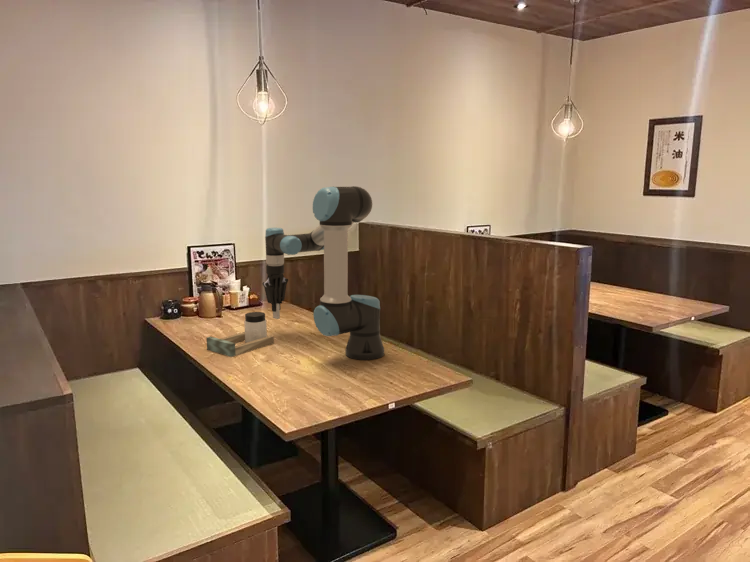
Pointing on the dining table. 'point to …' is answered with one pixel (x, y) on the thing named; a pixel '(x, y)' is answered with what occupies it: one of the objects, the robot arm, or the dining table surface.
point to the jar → (255, 326)
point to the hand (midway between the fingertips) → (276, 318)
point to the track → (229, 348)
